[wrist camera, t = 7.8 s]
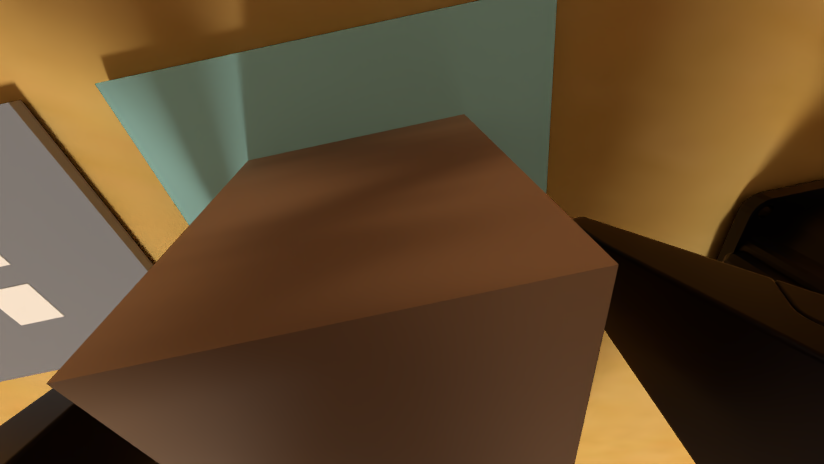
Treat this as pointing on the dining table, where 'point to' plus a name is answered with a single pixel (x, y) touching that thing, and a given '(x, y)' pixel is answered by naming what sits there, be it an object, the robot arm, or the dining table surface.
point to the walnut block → (360, 315)
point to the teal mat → (346, 93)
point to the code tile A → (53, 251)
